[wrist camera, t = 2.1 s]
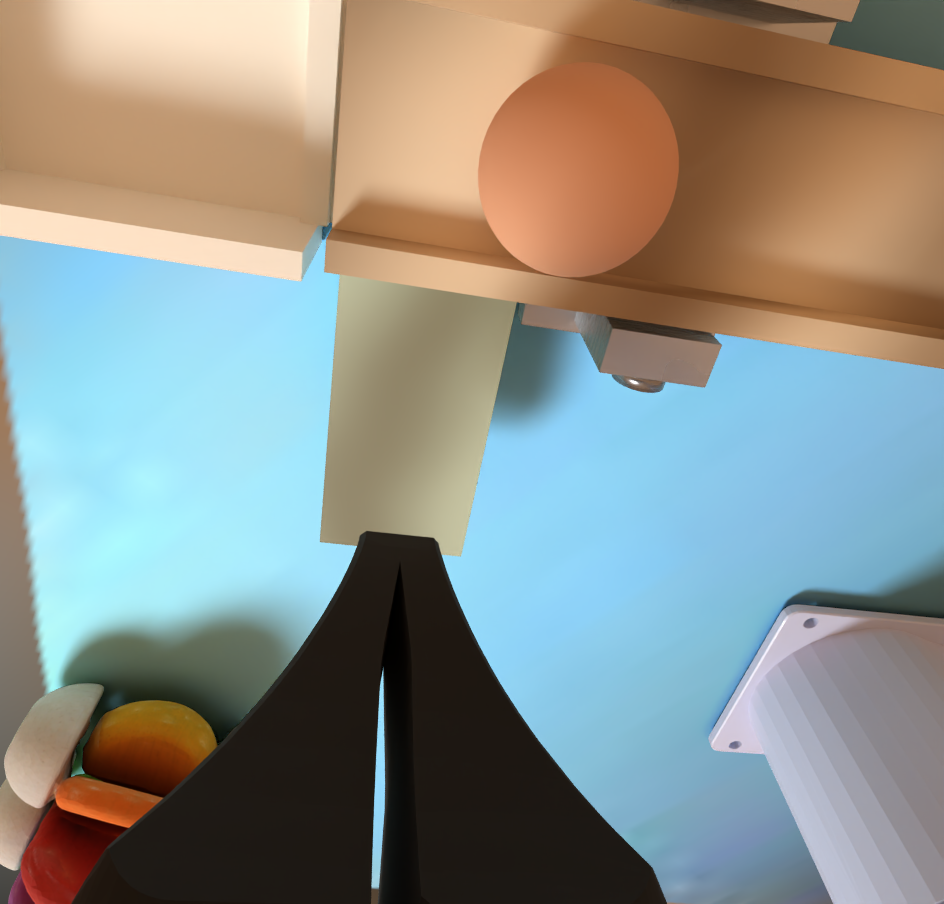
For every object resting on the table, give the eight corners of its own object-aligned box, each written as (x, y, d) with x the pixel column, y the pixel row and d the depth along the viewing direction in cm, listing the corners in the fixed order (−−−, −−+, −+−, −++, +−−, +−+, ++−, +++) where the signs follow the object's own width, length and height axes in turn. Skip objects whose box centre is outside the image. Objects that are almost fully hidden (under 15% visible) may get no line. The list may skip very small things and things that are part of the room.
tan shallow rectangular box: (433, -68, 13) (434, -92, 11) (395, 254, 16) (389, 294, 14) (-80, -186, 12) (-217, -244, 9) (-9, 188, 15) (-97, 220, 13)
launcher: (1021, 101, 14) (1168, 120, 11) (783, 540, 21) (840, 622, 18) (363, -44, 12) (343, -66, 10) (324, 488, 19) (304, 570, 16)
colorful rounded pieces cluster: (298, 704, 26) (255, 918, 19) (215, 830, 30) (159, 1038, 24) (65, 634, 23) (-69, 855, 17) (11, 783, 27) (-112, 1002, 21)
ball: (671, 78, 12) (744, 92, 9) (618, 260, 13) (666, 319, 11) (491, 40, 11) (509, 43, 8) (459, 233, 13) (466, 287, 10)
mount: (842, -43, 14) (967, -65, 10) (695, 344, 18) (753, 411, 15) (609, -100, 13) (667, -143, 10) (516, 316, 17) (536, 380, 14)
